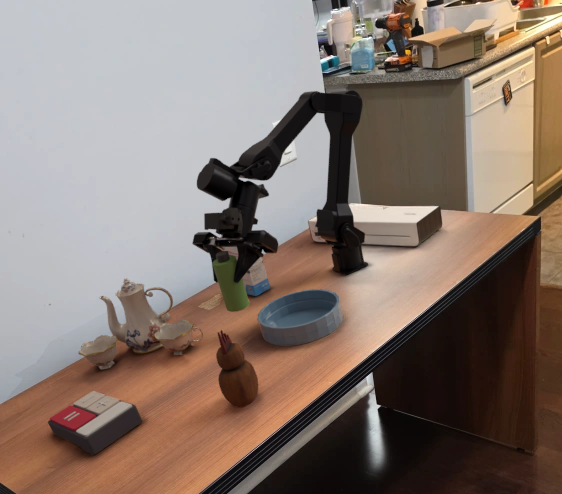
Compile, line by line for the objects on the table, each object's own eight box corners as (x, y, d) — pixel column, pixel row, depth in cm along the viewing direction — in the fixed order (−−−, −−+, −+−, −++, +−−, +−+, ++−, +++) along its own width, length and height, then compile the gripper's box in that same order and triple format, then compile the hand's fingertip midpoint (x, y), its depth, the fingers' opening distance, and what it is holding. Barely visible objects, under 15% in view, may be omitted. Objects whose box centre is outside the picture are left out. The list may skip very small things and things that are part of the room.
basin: (315, 301, 145) (311, 282, 143) (360, 321, 131) (356, 301, 129) (249, 332, 140) (243, 313, 138) (288, 357, 126) (282, 336, 124)
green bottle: (243, 298, 140) (227, 246, 134) (253, 304, 136) (237, 250, 130) (223, 308, 138) (206, 255, 132) (232, 314, 134) (215, 260, 128)
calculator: (93, 388, 127) (134, 401, 116) (102, 406, 129) (143, 421, 118) (44, 418, 121) (83, 435, 110) (54, 437, 123) (93, 455, 112)
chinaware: (82, 387, 140) (48, 323, 130) (96, 345, 153) (66, 284, 144) (207, 359, 137) (182, 291, 127) (210, 319, 151) (187, 254, 141)
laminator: (443, 229, 163) (440, 205, 160) (418, 249, 156) (414, 224, 153) (336, 226, 186) (331, 205, 182) (310, 244, 179) (305, 222, 175)
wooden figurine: (247, 414, 112) (222, 338, 104) (221, 410, 115) (195, 336, 108) (268, 392, 116) (246, 318, 109) (242, 389, 120) (219, 316, 112)
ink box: (271, 288, 158) (256, 230, 150) (256, 297, 156) (239, 238, 148) (251, 283, 164) (235, 227, 157) (235, 291, 162) (219, 235, 155)
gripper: (183, 195, 134) (166, 268, 132) (254, 189, 123) (237, 268, 121) (217, 217, 143) (201, 286, 141) (286, 214, 132) (270, 288, 130)
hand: (225, 282), depth 133 cm, fingers closed on green bottle, 5 cm apart
